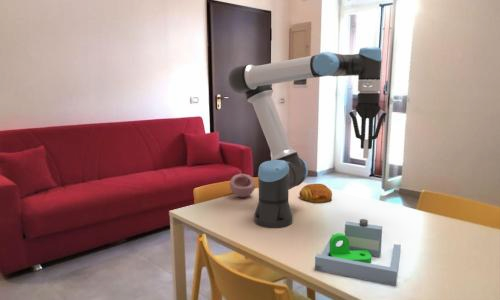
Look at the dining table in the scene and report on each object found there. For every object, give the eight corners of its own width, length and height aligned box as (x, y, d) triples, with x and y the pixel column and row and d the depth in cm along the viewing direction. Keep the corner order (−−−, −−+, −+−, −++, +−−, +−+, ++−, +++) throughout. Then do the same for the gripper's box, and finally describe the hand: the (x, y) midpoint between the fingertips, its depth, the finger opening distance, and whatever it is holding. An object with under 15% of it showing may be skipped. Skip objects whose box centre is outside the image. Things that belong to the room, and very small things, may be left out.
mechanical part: (334, 266, 110) (335, 241, 109) (329, 257, 116) (329, 233, 115) (374, 265, 111) (375, 239, 110) (366, 255, 117) (367, 231, 116)
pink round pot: (232, 201, 172) (231, 177, 170) (228, 194, 183) (227, 171, 181) (257, 199, 174) (257, 175, 172) (252, 192, 186) (251, 170, 184)
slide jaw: (344, 250, 120) (345, 219, 118) (345, 247, 123) (346, 216, 121) (379, 257, 115) (381, 224, 114) (380, 253, 118) (382, 221, 116)
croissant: (297, 199, 181) (295, 183, 180) (328, 193, 182) (326, 178, 181) (304, 208, 167) (302, 191, 166) (338, 202, 168) (336, 185, 167)
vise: (314, 269, 108) (315, 256, 108) (332, 238, 130) (332, 227, 129) (395, 285, 99) (396, 271, 99) (400, 249, 121) (401, 237, 120)
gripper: (348, 92, 131) (345, 158, 135) (387, 92, 126) (383, 160, 130) (351, 92, 138) (349, 154, 142) (389, 92, 133) (385, 157, 137)
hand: (365, 157), depth 136 cm, fingers closed
